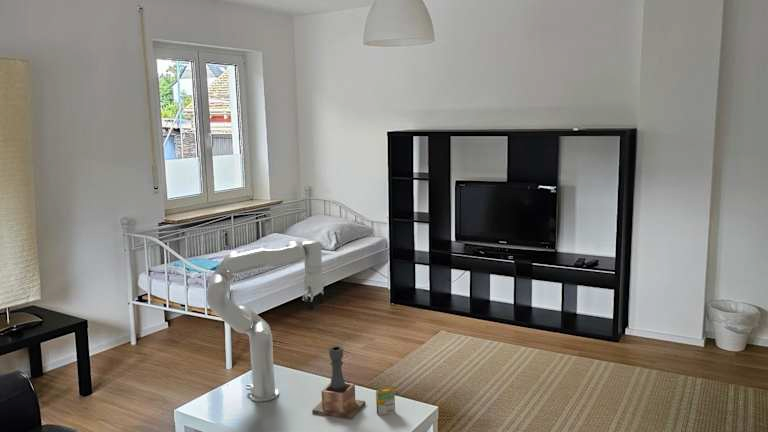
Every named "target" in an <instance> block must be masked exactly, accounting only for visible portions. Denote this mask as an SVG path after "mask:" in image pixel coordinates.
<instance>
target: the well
mask: <svg viewBox="0 0 768 432" xmlns="http://www.w3.org/2000/svg"><path fill="white" fill-rule="evenodd" d="M343 392H344V393H339V392H333V390H332V388H331V386H330V383H329V384H327V385H326V386H325V387H324V388H323V389H322V390H321V401H320V402H319V403H318V404H317V405H316V406H314V408H313V409H311V412H312V413H311V414H313V415H318V416H319V415H321V416H326V417H333V418H338V419H339V418H340V419H346V420H353V419H354V418H355V417H356V416H357V415H358V413H360V412H361V411H362V409H363V408H364V407H365V406H366V401H365V400H360V399H356V384H355V383H349V382H345V387H344V389H343Z"/></svg>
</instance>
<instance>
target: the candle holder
mask: <svg viewBox="0 0 768 432" xmlns="http://www.w3.org/2000/svg"><path fill="white" fill-rule="evenodd" d="M328 350H329V352H328V353H329V358H330V360H331V361H330V366H331V367H332V370H331V371H332V373H331V379H330V383H329V384H330V386H331V388H332V390H333V392H339V393H344V392H343V389H344V387H345V383H346V382H345V378H344V375H343V369H342V367H343V364H344V362H343V357H344V347H342V346H340V345H335V346H330V347H329V348H328Z"/></svg>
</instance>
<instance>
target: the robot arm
mask: <svg viewBox="0 0 768 432" xmlns="http://www.w3.org/2000/svg"><path fill="white" fill-rule="evenodd" d="M302 261H303V263H304V277H303V279H304V281H303V282H304V283H303V295H304V299H305V306H306V310H307V311H314V309H315V308H314V306H315V305H314V300H313V299H314V297H316V304H320V305H322V304H324V301H325V300H324V294H325V292H324V291H325V288H324V287H325V283H324V280H323V279H324V278H323V263H322V262H323V261H322V243H321V241H320V240H316V239H315V240H306V241H304V240H292V241H289V242H288V243H287V244H286V245H285V247H283V248H278V249H266V248H257V249H254V250H248V251H244V252H239V251H231V252H228V253H227V254H226V255H225V257H224V258H223V259H222V261H221V262H220V264H219V265H218V266H217V268H216V269H215V271H213V273H212V275H210V278H209V281H208V286H207V287H208V289H207V294H206V302H207V303H206V304H207V305H208V307H209V309H210V310H211V311H212V312H213V313H214V314H215V315H217V316H218V317H219V318H220V319H221V320H222V321H224V322H225V323H226V324H227V325H228V326H230V327H231V329H233V330H234V331H235V332H237V333H240V334H246V335H248V338H249V351H250V365H251V379H252V383H247V384H246V388H245V389H246V391H250V393H249V398H250V400H251V401H254V402H260V403H262V402H269V401H273V400H274V399H276V398H278V396H279V393H280V392H279V389H278V388H276V385H275V368H274V353H273V352H274V351H273V349H274V348H273V346H274V345H273V344H274V343H273V335H272V331H271V327H270V325H269V324H268V322H267V321H266V320H264V319H263V318H262V317H261V316H259V314H257V313H256V312H255V311H253V309H251V308H250V307H248V306H245V305H237V304H236V302H235V301H233V300H232V299H230V298H229V297H228V293H229V291H230V285H231V282H233V280H234V279H235V277H236V276H237V275H241V274H246V273H250V272H253V271H258V270H262V269H272V268H279V267H281V268H282V267H286V266H289V265H293V264H297V263H300V262H302Z"/></svg>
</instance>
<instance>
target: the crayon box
mask: <svg viewBox="0 0 768 432" xmlns="http://www.w3.org/2000/svg"><path fill="white" fill-rule="evenodd" d="M375 398H376V399H375V400H376V403H375V404H376V414H377V415H378V416H385V415H386V416H387V415H391V414H396V400H395V399H396V398H395V386H390V387H383V388H378V389H377V390H375Z"/></svg>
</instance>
